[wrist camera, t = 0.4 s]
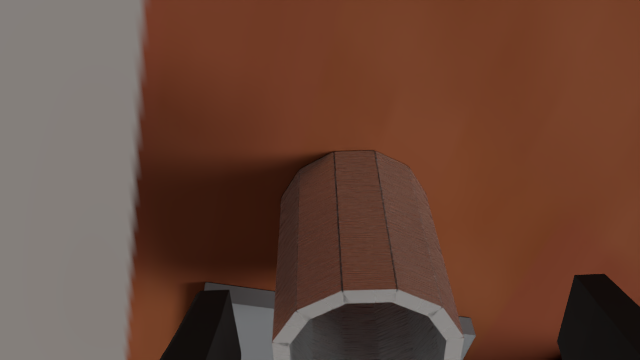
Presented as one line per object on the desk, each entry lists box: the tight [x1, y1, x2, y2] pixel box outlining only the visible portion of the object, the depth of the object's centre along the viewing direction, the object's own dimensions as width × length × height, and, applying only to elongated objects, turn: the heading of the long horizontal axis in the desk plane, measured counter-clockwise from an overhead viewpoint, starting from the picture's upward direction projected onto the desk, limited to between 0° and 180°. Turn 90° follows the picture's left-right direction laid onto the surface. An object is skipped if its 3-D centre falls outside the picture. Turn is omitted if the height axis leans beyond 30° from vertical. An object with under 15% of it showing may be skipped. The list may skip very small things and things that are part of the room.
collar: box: [272, 151, 464, 360], centre depth 21 cm, size 6×6×7 cm
